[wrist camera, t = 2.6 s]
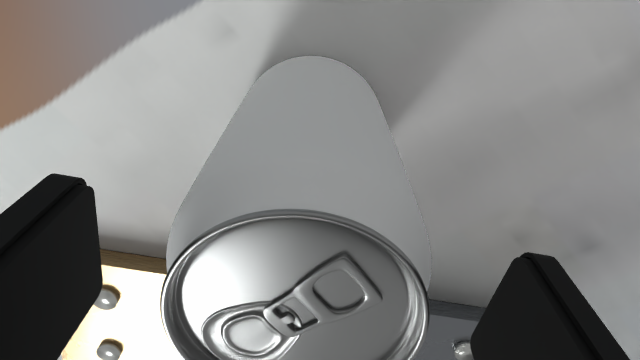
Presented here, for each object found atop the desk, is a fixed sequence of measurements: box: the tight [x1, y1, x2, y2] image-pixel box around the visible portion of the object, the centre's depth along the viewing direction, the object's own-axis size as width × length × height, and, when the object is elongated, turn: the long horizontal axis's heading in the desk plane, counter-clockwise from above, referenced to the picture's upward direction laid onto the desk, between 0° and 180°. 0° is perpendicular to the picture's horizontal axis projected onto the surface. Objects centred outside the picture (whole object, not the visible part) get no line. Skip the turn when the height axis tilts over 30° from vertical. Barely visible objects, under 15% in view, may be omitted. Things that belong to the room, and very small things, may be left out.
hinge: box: [61, 249, 486, 360], centre depth 25 cm, size 10×27×2 cm, turn 79°
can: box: [160, 56, 432, 360], centre depth 14 cm, size 6×6×12 cm
